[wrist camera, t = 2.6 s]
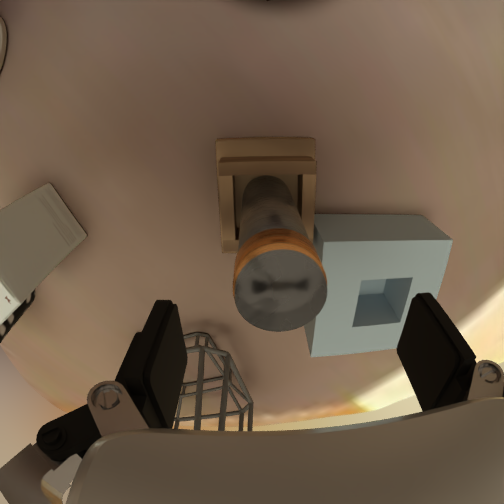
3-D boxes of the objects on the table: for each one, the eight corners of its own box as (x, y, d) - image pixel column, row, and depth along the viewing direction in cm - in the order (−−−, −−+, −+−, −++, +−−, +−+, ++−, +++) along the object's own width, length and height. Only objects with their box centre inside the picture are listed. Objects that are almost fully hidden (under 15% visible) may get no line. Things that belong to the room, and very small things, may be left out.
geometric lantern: (229, 299, 32) (224, 679, 1) (267, 386, 39) (286, 636, 8) (108, 327, 34) (24, 604, 3) (165, 401, 41) (138, 618, 10)
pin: (240, 174, 25) (229, 253, 12) (291, 173, 25) (334, 251, 12) (242, 222, 27) (234, 334, 14) (291, 221, 27) (324, 330, 14)
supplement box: (50, 179, 26) (-34, 228, 14) (89, 235, 29) (22, 307, 17) (17, 217, 27) (-55, 271, 16) (53, 267, 30) (-7, 335, 19)
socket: (309, 214, 28) (323, 241, 22) (422, 215, 28) (452, 239, 22) (302, 318, 33) (310, 357, 28) (400, 310, 33) (419, 344, 28)
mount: (217, 138, 25) (211, 144, 21) (311, 137, 25) (322, 143, 21) (223, 245, 29) (219, 266, 26) (308, 243, 29) (315, 264, 26)
